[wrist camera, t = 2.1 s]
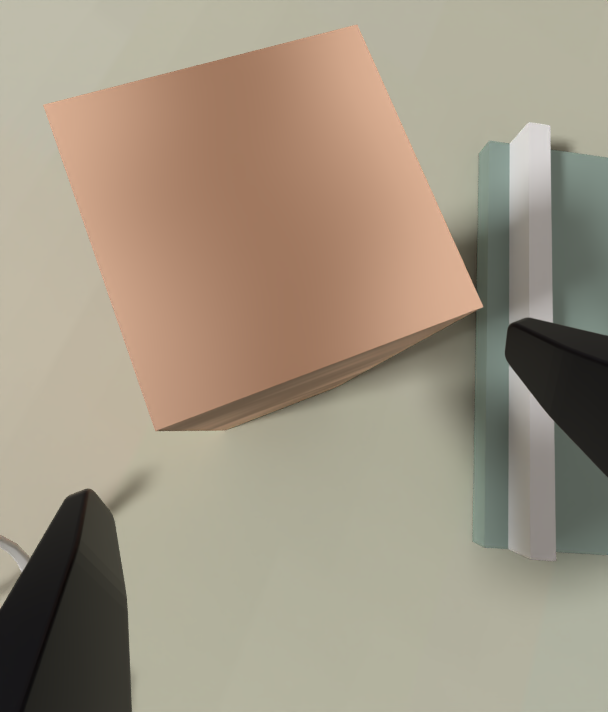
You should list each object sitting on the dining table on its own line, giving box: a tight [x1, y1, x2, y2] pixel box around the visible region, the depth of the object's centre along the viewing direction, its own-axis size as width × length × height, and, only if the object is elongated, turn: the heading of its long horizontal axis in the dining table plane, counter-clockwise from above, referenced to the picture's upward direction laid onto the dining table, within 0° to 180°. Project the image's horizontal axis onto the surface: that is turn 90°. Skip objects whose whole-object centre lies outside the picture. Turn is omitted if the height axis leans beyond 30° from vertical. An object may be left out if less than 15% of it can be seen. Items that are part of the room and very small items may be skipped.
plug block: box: [43, 25, 483, 431], centre depth 13 cm, size 5×5×13 cm
